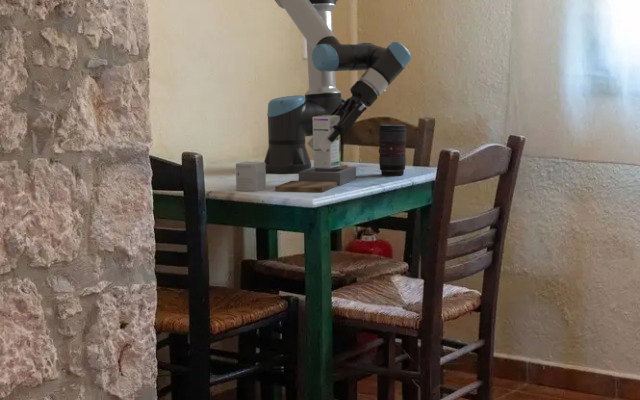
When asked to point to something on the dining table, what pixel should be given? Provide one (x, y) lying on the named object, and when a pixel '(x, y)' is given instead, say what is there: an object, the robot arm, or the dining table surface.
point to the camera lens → (392, 149)
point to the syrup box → (320, 130)
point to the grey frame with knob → (329, 174)
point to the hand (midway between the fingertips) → (315, 147)
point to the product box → (250, 176)
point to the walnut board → (306, 186)
